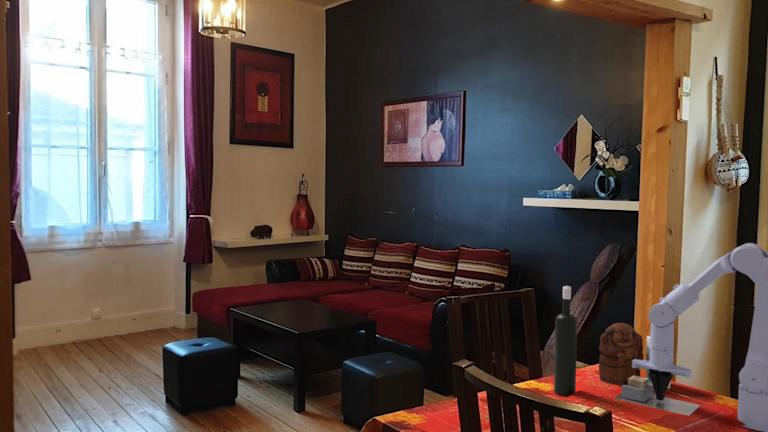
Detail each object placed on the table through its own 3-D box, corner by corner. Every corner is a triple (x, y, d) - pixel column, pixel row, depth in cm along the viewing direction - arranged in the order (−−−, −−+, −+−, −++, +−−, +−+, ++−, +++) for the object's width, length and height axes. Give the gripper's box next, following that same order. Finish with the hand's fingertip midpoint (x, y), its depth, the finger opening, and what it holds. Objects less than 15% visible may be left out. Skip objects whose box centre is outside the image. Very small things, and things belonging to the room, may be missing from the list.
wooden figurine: (607, 388, 181) (608, 326, 180) (596, 381, 188) (598, 321, 187) (645, 387, 183) (647, 325, 182) (634, 380, 189) (636, 320, 188)
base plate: (700, 408, 166) (700, 395, 165) (689, 419, 158) (689, 405, 158) (627, 392, 178) (627, 380, 178) (613, 401, 170) (613, 389, 170)
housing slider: (653, 394, 172) (654, 383, 172) (644, 401, 167) (644, 390, 167) (631, 389, 176) (631, 379, 176) (621, 396, 171) (621, 385, 171)
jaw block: (647, 396, 172) (648, 378, 172) (642, 400, 169) (643, 381, 168) (633, 393, 174) (633, 375, 174) (627, 397, 171) (628, 378, 171)
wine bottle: (554, 395, 175) (557, 287, 174) (553, 388, 181) (555, 284, 179) (576, 396, 174) (579, 288, 173) (574, 390, 180) (576, 285, 178)
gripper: (695, 350, 165) (694, 401, 166) (639, 340, 175) (637, 389, 176) (687, 355, 160) (686, 408, 161) (629, 345, 170) (628, 395, 170)
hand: (660, 399), depth 168 cm, fingers closed
